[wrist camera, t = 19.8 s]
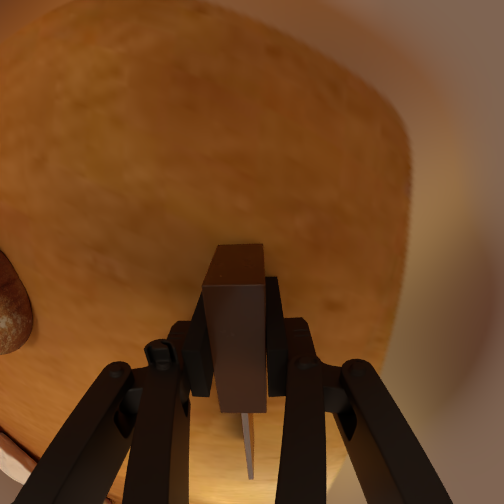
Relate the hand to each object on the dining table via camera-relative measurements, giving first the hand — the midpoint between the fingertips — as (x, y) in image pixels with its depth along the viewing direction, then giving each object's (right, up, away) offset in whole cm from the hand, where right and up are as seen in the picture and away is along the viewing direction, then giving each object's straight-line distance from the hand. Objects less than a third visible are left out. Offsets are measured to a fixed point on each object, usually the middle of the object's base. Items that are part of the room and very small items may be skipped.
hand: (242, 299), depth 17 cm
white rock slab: (-53, -38, +15) cm, 67 cm away
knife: (0, -6, +2) cm, 6 cm away
